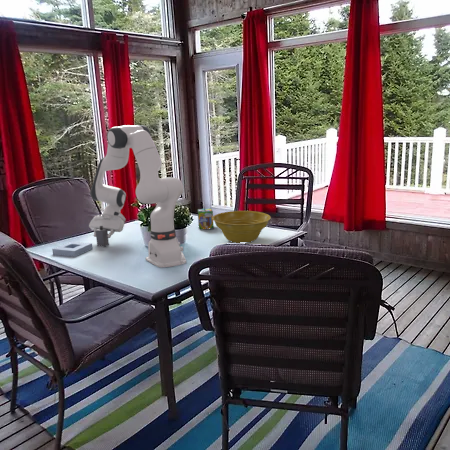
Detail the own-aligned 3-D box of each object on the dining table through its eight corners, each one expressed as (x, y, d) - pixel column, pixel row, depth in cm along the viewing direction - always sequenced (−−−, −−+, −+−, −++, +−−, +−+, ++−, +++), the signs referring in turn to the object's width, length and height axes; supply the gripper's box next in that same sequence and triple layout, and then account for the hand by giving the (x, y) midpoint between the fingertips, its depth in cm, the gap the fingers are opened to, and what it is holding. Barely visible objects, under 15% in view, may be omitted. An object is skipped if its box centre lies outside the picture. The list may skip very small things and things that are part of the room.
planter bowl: (282, 243, 224) (282, 218, 221) (229, 252, 210) (228, 226, 207) (252, 230, 252) (252, 208, 249) (203, 237, 238) (202, 214, 235)
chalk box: (213, 229, 256) (212, 205, 253) (198, 230, 255) (197, 206, 252) (212, 225, 265) (211, 202, 262) (198, 226, 264) (197, 203, 261)
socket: (92, 248, 222) (91, 243, 222) (74, 256, 210) (74, 251, 209) (71, 246, 227) (70, 241, 227) (52, 254, 215) (52, 248, 214)
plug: (108, 244, 230) (106, 225, 227) (103, 246, 226) (102, 227, 223) (102, 243, 231) (100, 224, 229) (97, 246, 227) (95, 226, 225)
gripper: (92, 211, 234) (82, 232, 228) (123, 213, 227) (114, 235, 221) (98, 217, 239) (88, 238, 233) (128, 219, 232) (119, 241, 226)
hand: (101, 237), depth 227 cm, fingers open, 7 cm apart
